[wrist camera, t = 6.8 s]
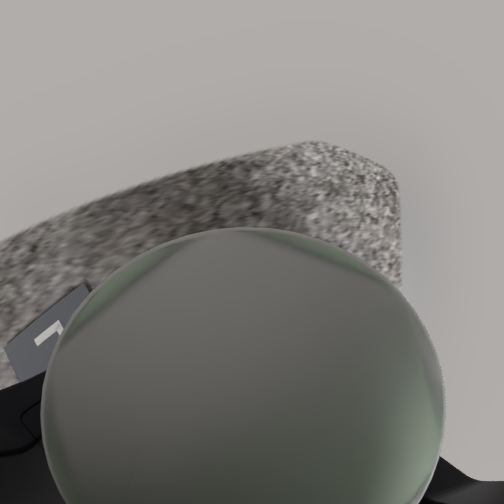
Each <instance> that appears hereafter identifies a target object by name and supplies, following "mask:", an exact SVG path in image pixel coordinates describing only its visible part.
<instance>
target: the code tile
mask: <svg viewBox="0 0 504 504" xmlns="http://www.w3.org/2000/svg"><path fill="white" fill-rule="evenodd" d="M89 294H90V292H89V290H88V288H87V287H86V285H85V283H82V284H81V285H79V286H78V287H77V288H76V289H74V290H73V291H72V292H70V293H69V294H68V295H66V296H65V297H64V298H63V299H61V300H60V301H59V302H58V303H56V304H55V305H54V306H53V307H51V308H50V309H49V310H48V311H46V312H45V313H44V314H43V315H41V316H40V317H39V318H38V319H36V320H35V321H34V322H33V323H32V324H30V325H29V326H28V327H27V328H26V329H25V330H23V331H22V332H21V333H20V334H19V335H18V336H16V337H15V338H14V339H13V340H12V341H11V342H9V343H8V344H7V345H6V346H5V347H4V349H5V352H6V354H7V356H8V358H9V360H10V363H11V365H12V367H13V369H14V371H15V373H16V375H17V377H18V379H19V381H20V382H22V381H25V380H27V379H29V378H31V377H33V376H35V375H37V374H39V373H41V372H43V371H45V370H47V367H48V363H49V360H50V357H51V355H52V352H53V350H54V348H55V345H56V343H57V340H58V338H59V336H60V334H61V333H62V331H63V329H64V328H65V326H66V324H67V323H68V321H69V319H70V318H71V316H72V315H73V313H74V312H75V310H76V309H77V308H78V307H79V306H80V304H81V303H82V302H83V301H84V300H85V298H86V297H87V296H88V295H89Z"/></svg>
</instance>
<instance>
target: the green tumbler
mask: <svg viewBox="0 0 504 504" xmlns="http://www.w3.org/2000/svg"><path fill="white" fill-rule="evenodd" d="M445 401H446V400H445V388H444V382H443V376H442V370H441V367H440V363H439V360H438V357H437V354H436V350H435V348H434V345H433V343H432V341H431V339H430V337H429V334H428V332H427V330H426V328H425V326H424V325H423V323H422V321H421V320H420V318H419V316H418V315H417V313H416V312H415V310H414V309H413V307H412V306H411V305H410V303H409V302H408V301H407V300H406V298H405V297H404V296H403V295H402V293H401V292H400V291H399V290H398V289H397V288H396V287H395V286H394V285H393V284H392V283H391V282H390V281H389V280H388V279H386V278H385V277H384V276H383V275H382V274H381V273H379V272H378V271H377V270H375V269H374V268H373V267H371V266H370V265H369V264H368V263H366V262H365V261H363V260H361V259H360V258H358V257H356V256H355V255H353V254H351V253H349V252H348V251H346V250H344V249H342V248H340V247H337V246H335V245H333V244H330V243H328V242H326V241H323V240H321V239H318V238H314V237H311V236H307V235H304V234H301V233H297V232H292V231H286V230H280V229H273V228H260V227H234V228H222V229H213V230H208V231H204V232H199V233H194V234H189V235H186V236H183V237H180V238H177V239H174V240H171V241H168V242H166V243H163V244H160V245H158V246H156V247H154V248H152V249H150V250H148V251H146V252H144V253H142V254H140V255H138V256H136V257H135V258H133V259H132V260H130V261H129V262H127V263H126V264H124V265H123V266H121V267H120V268H118V269H117V270H115V271H114V272H112V273H111V274H110V275H109V276H108V277H107V278H106V279H104V280H103V281H102V282H101V283H100V284H99V285H98V286H97V287H96V288H95V289H93V290H92V291H91V292H90V294H89V295H88V296H87V297H86V298H85V300H84V301H83V302H82V303H81V304H80V306H79V307H78V308H77V309H76V310H75V312H74V313H73V315H72V316H71V318H70V319H69V321H68V323H67V324H66V326H65V328H64V329H63V331H62V333H61V334H60V336H59V338H58V340H57V343H56V345H55V348H54V350H53V352H52V355H51V357H50V360H49V363H48V367H47V371H46V375H45V379H44V383H43V388H42V399H41V414H40V416H41V429H42V440H43V445H44V450H45V454H46V458H47V462H48V465H49V469H50V471H51V474H52V476H53V479H54V481H55V483H56V486H57V488H58V490H59V492H60V494H61V496H62V498H63V499H64V501H65V503H66V504H419V502H420V500H421V499H422V497H423V495H424V493H425V491H426V489H427V487H428V485H429V483H430V481H431V479H432V477H433V474H434V471H435V468H436V465H437V462H438V459H439V456H440V452H441V447H442V443H443V438H444V430H445V419H446V402H445Z"/></svg>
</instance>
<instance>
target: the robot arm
mask: <svg viewBox="0 0 504 504" xmlns="http://www.w3.org/2000/svg"><path fill="white" fill-rule="evenodd" d="M46 371H47V370H45V371H43V372H41V373H39V374H37V375H35V376H33V377H31V378H29V379H27V380H25V381H22V382H20V383H17V384H15V385H12V386H10V387H7V388H4V389H2V390H0V504H66V503H65V501H64V499H63V498H62V496H61V494H60V492H59V490H58V488H57V486H56V483H55V481H54V479H53V476H52V474H51V471H50V469H49V465H48V462H47V458H46V454H45V450H44V445H43V440H42V429H41V416H40V414H41V399H42V388H43V383H44V379H45V375H46ZM419 504H504V481H479V480H475V479H472V478H470V477H468V476H466V475H465V474H464V473H462V472H461V471H459V470H458V469H456V468H455V467H454V466H453V465H451V464H450V463H449V462H447V461H446V460H444V459H443V458H442V457H440V456H439V459H438V462H437V465H436V468H435V471H434V474H433V477H432V479H431V481H430V483H429V485H428V487H427V489H426V491H425V493H424V495H423V497H422V499H421V500H420V502H419Z"/></svg>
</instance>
